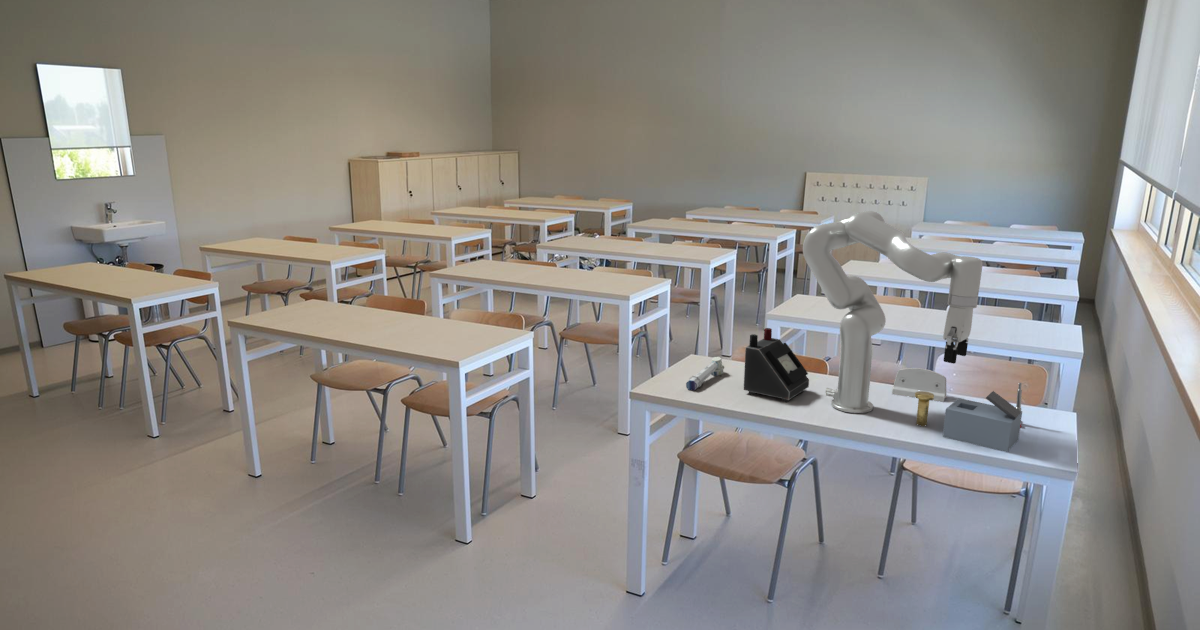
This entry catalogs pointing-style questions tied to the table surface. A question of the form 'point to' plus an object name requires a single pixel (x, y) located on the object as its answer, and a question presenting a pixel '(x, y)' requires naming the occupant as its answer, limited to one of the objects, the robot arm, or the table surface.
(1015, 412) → the grey flat rectangular plate
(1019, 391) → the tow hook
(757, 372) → the voltmeter
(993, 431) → the grey rectangular box
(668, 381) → the table surface
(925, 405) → the brass pin
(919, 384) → the hinge
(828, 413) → the table surface
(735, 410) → the table surface
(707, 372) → the grey blue-ended cylinder
